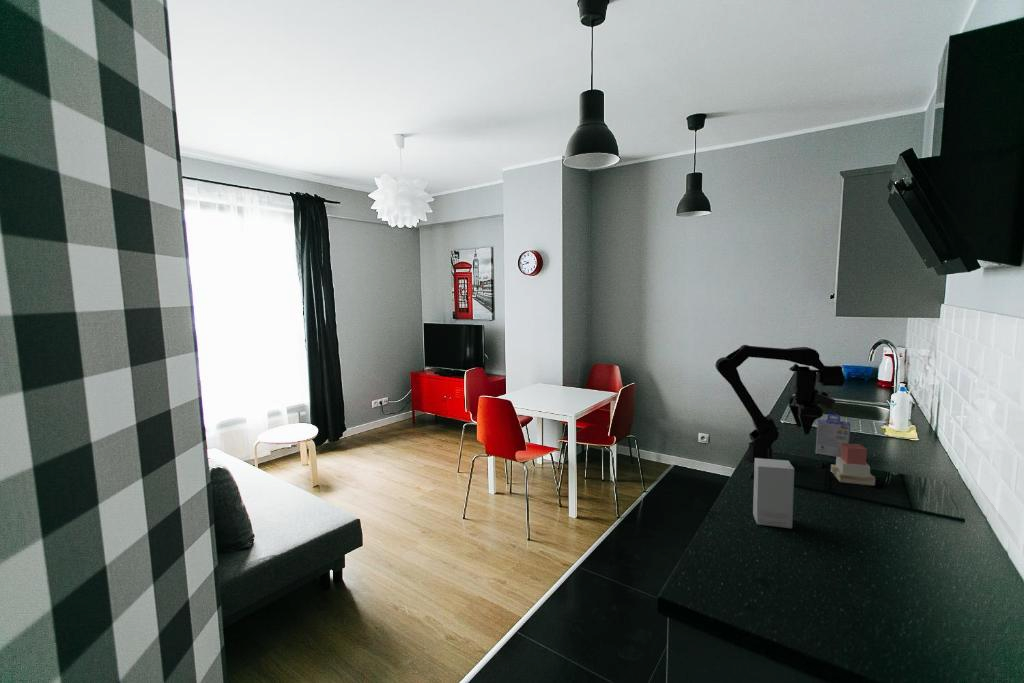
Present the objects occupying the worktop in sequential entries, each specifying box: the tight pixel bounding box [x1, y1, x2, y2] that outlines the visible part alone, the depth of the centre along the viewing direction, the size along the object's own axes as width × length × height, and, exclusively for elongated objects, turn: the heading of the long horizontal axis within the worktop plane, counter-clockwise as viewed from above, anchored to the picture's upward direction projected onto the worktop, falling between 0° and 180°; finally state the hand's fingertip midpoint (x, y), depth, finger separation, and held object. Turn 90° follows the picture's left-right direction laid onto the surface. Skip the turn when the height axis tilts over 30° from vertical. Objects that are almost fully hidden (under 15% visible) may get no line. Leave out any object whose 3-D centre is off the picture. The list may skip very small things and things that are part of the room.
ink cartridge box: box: [814, 413, 851, 458], centre depth 169 cm, size 10×6×14 cm, turn 55°
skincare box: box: [752, 458, 796, 529], centre depth 119 cm, size 8×7×16 cm
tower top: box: [835, 457, 871, 476], centre depth 148 cm, size 7×7×3 cm
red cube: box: [841, 442, 868, 465], centre depth 147 cm, size 5×5×5 cm
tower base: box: [830, 464, 876, 486], centre depth 148 cm, size 9×9×3 cm
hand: (802, 430), depth 158 cm, fingers open, 9 cm apart
